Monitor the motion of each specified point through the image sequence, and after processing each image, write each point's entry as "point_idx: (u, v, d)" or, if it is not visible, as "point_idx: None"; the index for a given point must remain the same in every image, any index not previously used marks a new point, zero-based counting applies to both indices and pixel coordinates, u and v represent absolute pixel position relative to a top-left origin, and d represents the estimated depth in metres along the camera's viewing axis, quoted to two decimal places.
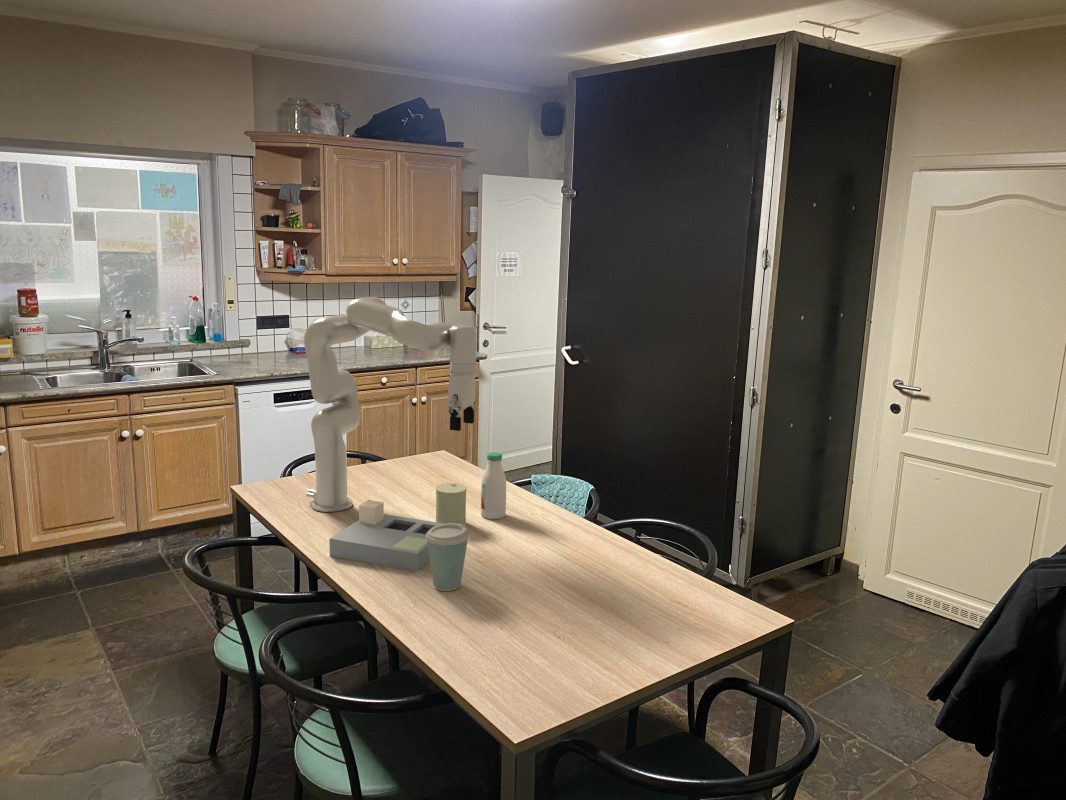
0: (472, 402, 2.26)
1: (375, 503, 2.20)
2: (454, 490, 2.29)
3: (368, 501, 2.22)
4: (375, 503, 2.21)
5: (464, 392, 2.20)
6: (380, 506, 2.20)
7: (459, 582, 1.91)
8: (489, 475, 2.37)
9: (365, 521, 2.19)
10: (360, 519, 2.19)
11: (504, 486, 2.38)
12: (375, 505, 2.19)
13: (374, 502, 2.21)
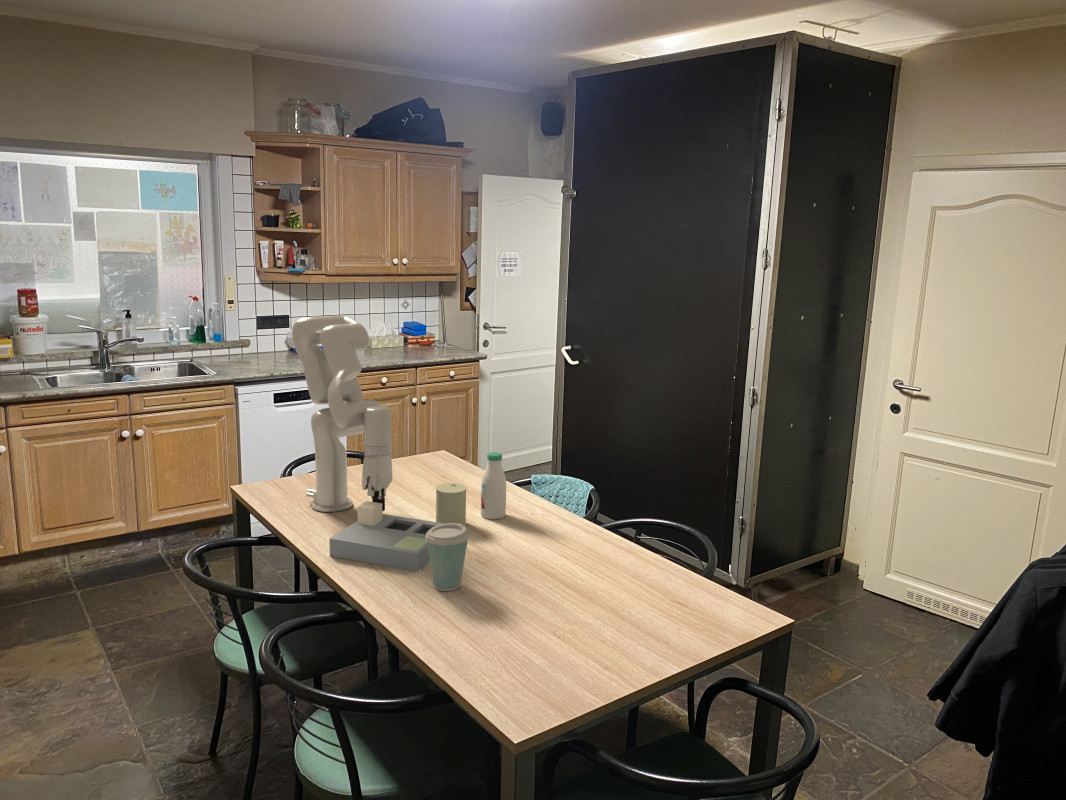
0: (389, 482, 2.24)
1: (374, 504, 2.19)
2: (454, 490, 2.29)
3: (366, 502, 2.21)
4: (373, 504, 2.19)
5: (378, 474, 2.17)
6: (379, 507, 2.19)
7: (459, 582, 1.91)
8: (489, 475, 2.37)
9: (364, 522, 2.17)
10: (359, 520, 2.18)
11: (504, 486, 2.38)
12: (374, 506, 2.18)
13: (372, 503, 2.20)
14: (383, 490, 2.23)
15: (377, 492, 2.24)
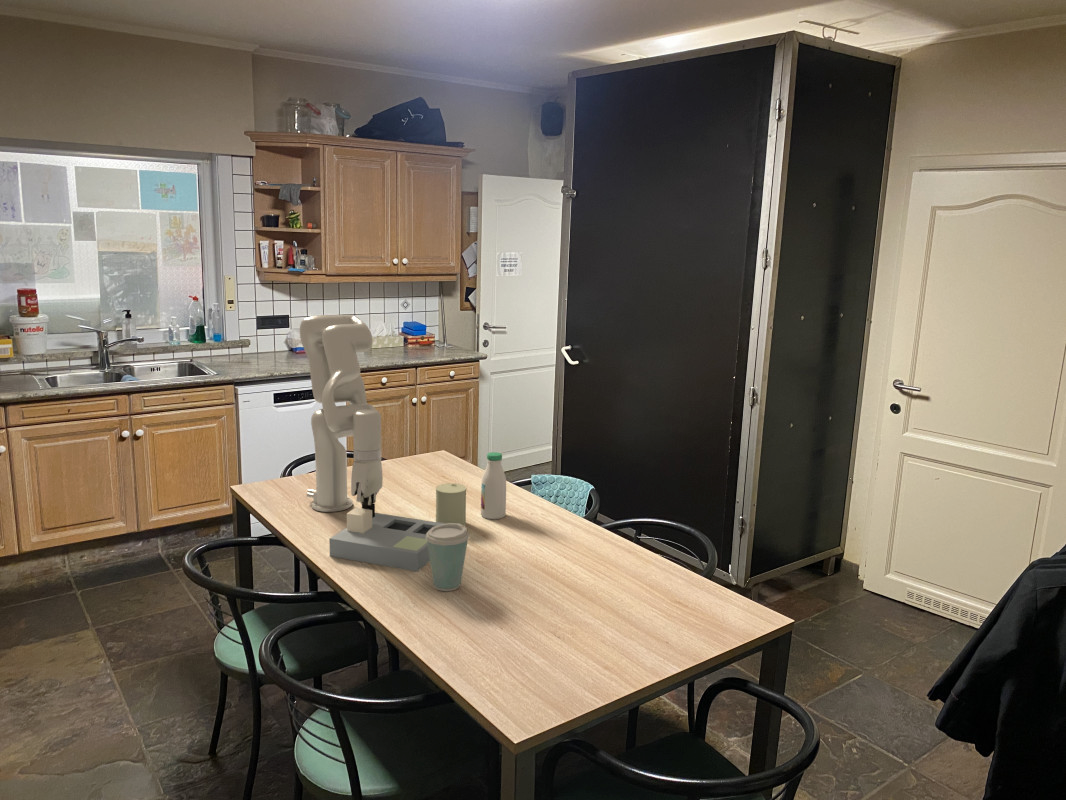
0: (379, 487, 2.19)
1: (363, 511, 2.14)
2: (454, 490, 2.29)
3: (356, 509, 2.15)
4: (363, 510, 2.14)
5: (368, 480, 2.12)
6: (368, 514, 2.13)
7: (459, 582, 1.91)
8: (489, 475, 2.37)
9: (353, 530, 2.12)
10: (348, 528, 2.12)
11: (504, 486, 2.38)
12: (363, 513, 2.12)
13: (362, 510, 2.14)
14: (373, 496, 2.18)
15: None
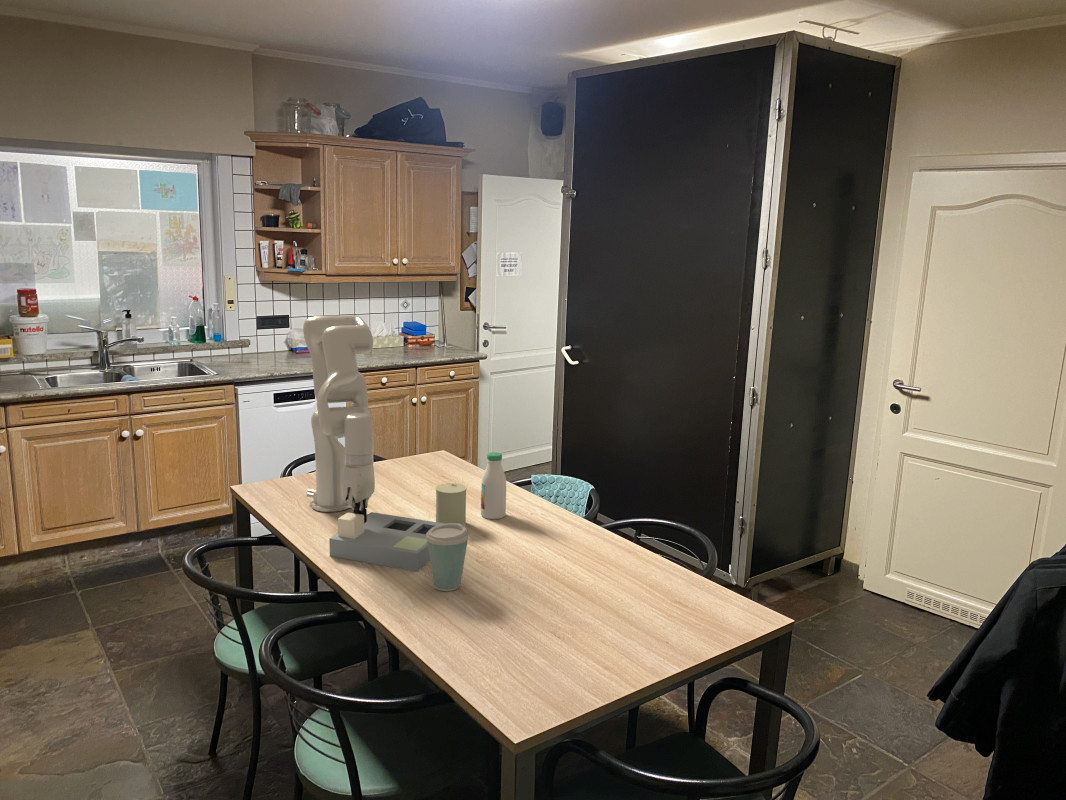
0: (371, 492, 2.15)
1: (355, 516, 2.10)
2: (454, 490, 2.29)
3: (348, 514, 2.11)
4: (355, 515, 2.10)
5: (359, 485, 2.08)
6: (360, 519, 2.09)
7: (459, 582, 1.91)
8: (489, 475, 2.37)
9: (344, 535, 2.08)
10: (339, 533, 2.08)
11: (504, 486, 2.38)
12: (355, 518, 2.08)
13: (354, 515, 2.10)
14: (365, 501, 2.14)
15: None
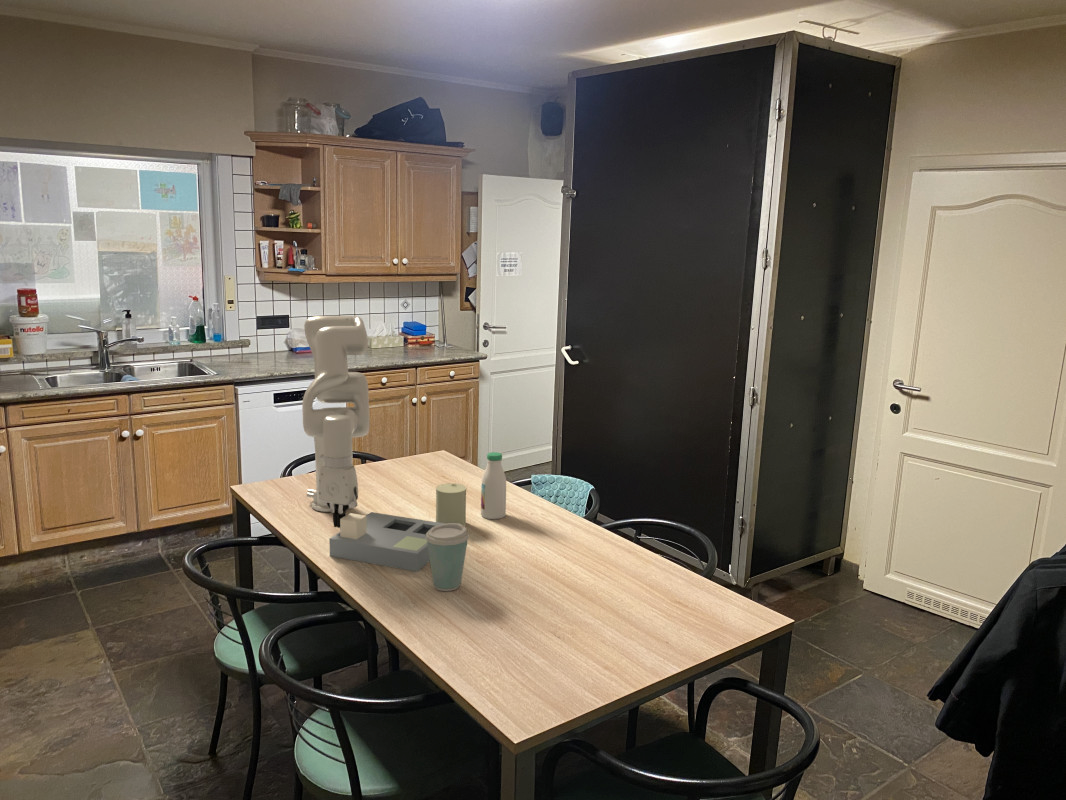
0: None
1: (357, 517, 2.09)
2: (454, 490, 2.29)
3: (350, 514, 2.11)
4: (357, 516, 2.10)
5: None
6: (362, 520, 2.09)
7: (459, 582, 1.91)
8: (489, 475, 2.37)
9: (346, 536, 2.08)
10: (341, 533, 2.08)
11: (504, 486, 2.38)
12: (357, 519, 2.08)
13: (356, 515, 2.10)
14: None
15: None
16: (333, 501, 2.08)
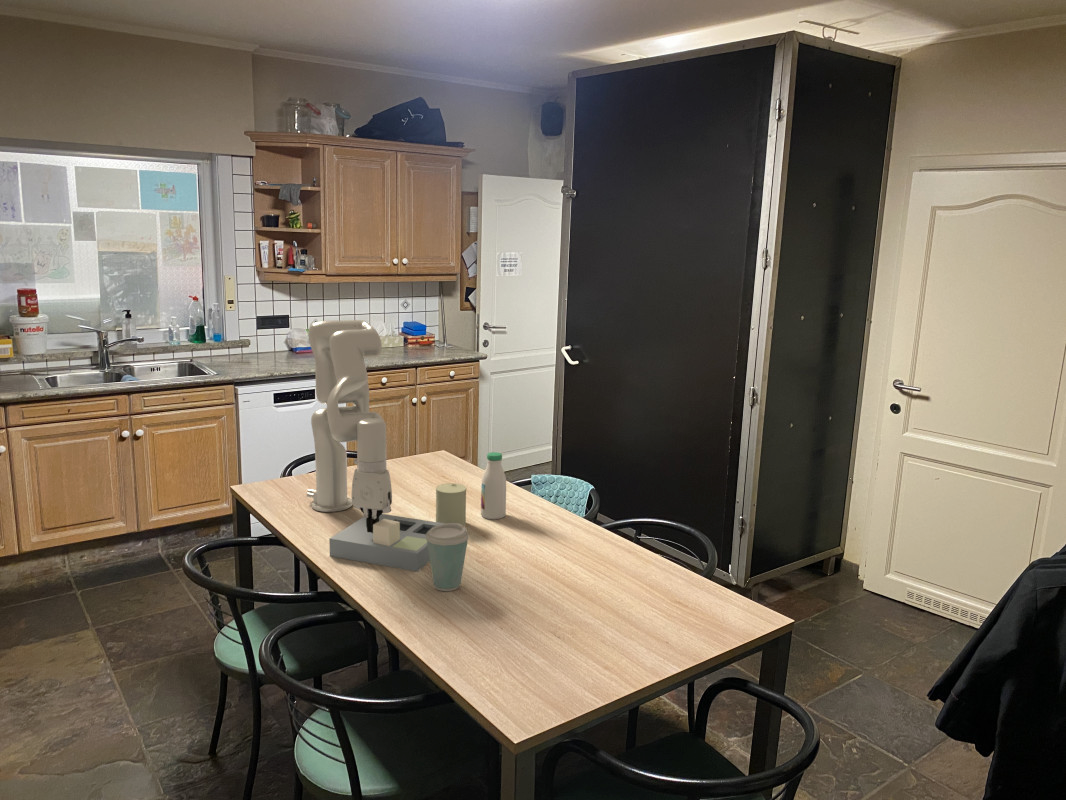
0: None
1: (391, 523, 2.06)
2: (454, 490, 2.29)
3: (383, 520, 2.07)
4: (390, 522, 2.06)
5: None
6: (395, 526, 2.05)
7: (459, 582, 1.91)
8: (489, 475, 2.37)
9: (379, 542, 2.04)
10: (374, 539, 2.05)
11: (504, 486, 2.38)
12: (390, 525, 2.04)
13: (390, 521, 2.07)
14: None
15: None
16: (367, 506, 2.04)
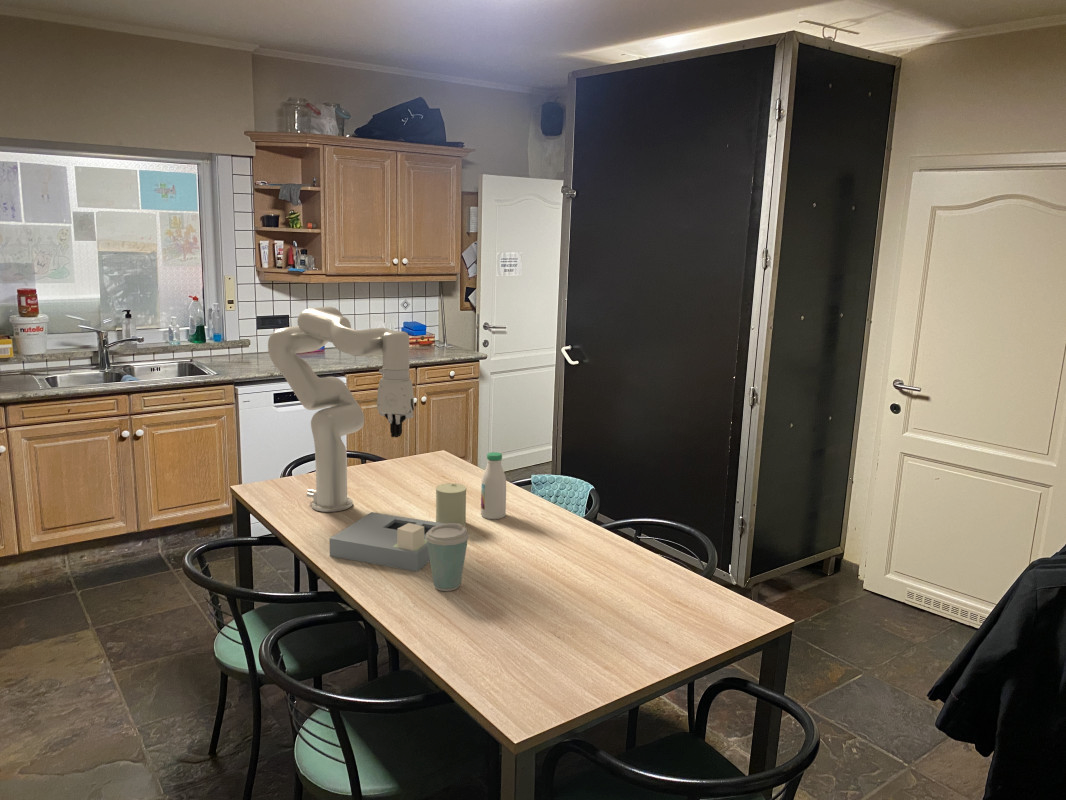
0: None
1: (415, 527, 2.03)
2: (454, 490, 2.29)
3: (408, 524, 2.05)
4: (415, 526, 2.04)
5: None
6: (420, 531, 2.03)
7: (459, 582, 1.91)
8: (489, 475, 2.37)
9: (403, 546, 2.02)
10: (398, 544, 2.03)
11: (504, 486, 2.38)
12: (414, 529, 2.02)
13: (414, 526, 2.04)
14: (395, 414, 2.27)
15: None
16: (391, 411, 2.23)
